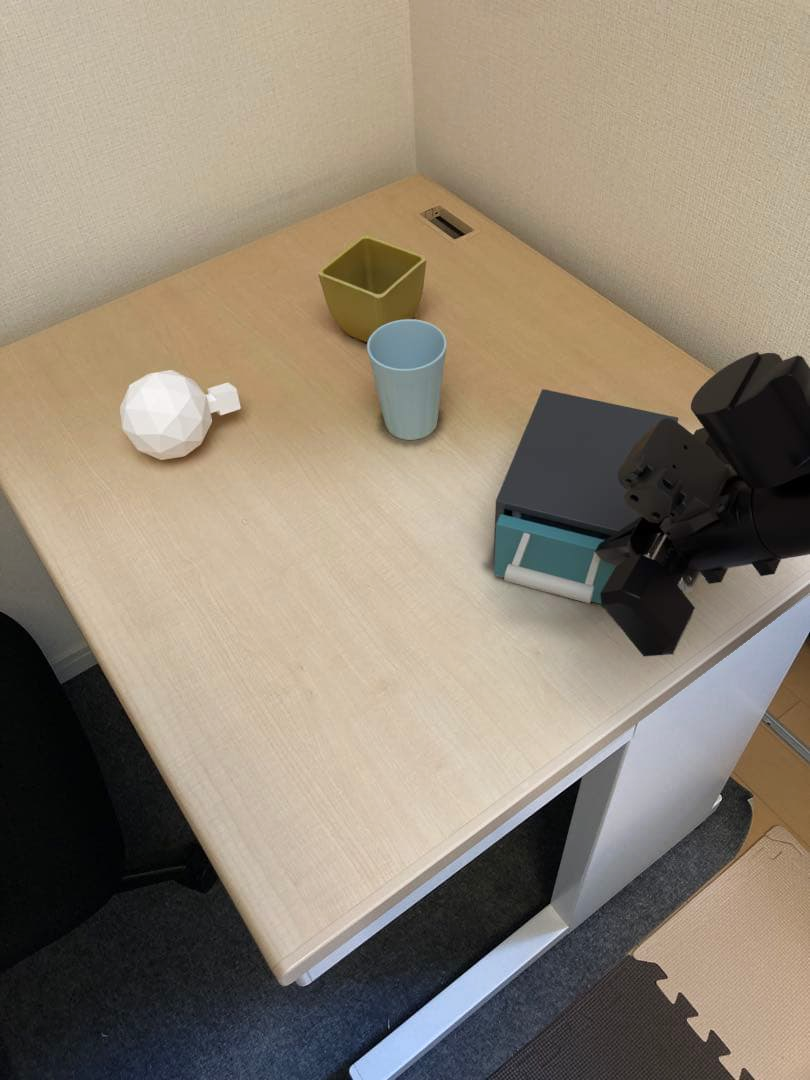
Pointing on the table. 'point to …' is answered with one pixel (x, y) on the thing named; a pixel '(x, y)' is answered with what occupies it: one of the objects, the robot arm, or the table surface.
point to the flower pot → (372, 285)
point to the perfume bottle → (172, 413)
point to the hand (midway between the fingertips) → (599, 552)
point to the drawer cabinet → (574, 463)
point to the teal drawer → (550, 556)
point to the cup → (408, 375)
